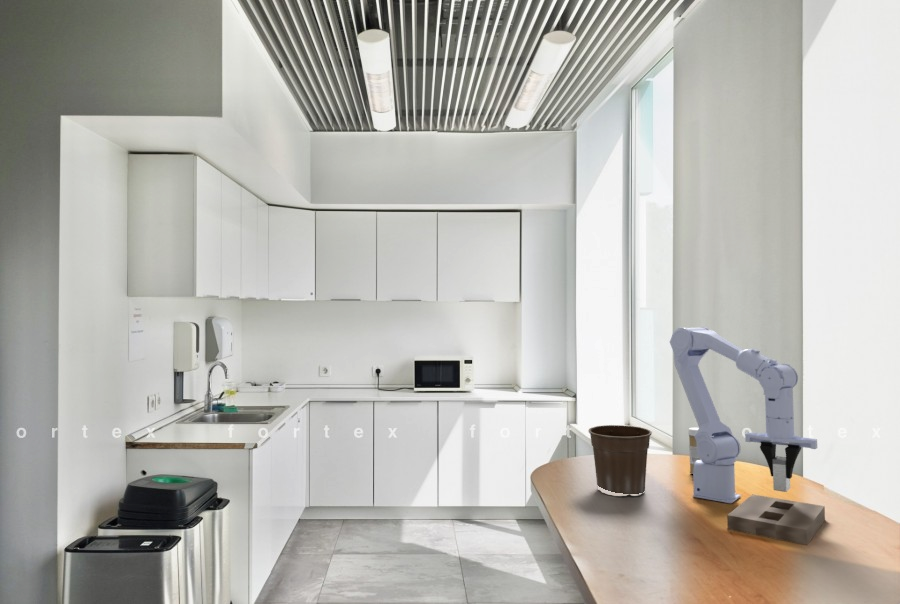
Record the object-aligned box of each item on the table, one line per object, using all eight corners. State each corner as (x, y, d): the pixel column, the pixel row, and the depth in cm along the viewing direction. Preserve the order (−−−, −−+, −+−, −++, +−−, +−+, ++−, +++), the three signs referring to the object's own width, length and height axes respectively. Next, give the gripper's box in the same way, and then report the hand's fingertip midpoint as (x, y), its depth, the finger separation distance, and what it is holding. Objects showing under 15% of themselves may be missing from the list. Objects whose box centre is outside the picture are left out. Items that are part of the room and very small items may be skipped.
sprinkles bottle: (709, 475, 176) (708, 428, 177) (700, 477, 174) (699, 430, 174) (695, 472, 180) (694, 426, 181) (686, 474, 178) (685, 428, 178)
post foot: (727, 529, 131) (727, 515, 131) (752, 506, 146) (752, 494, 146) (806, 545, 121) (806, 530, 121) (825, 519, 137) (824, 506, 137)
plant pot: (643, 504, 150) (642, 438, 150) (580, 494, 158) (579, 432, 159) (659, 488, 163) (658, 428, 164) (600, 480, 172) (599, 423, 172)
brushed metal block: (773, 490, 139) (772, 459, 139) (777, 486, 142) (776, 456, 143) (786, 492, 137) (785, 460, 137) (790, 488, 140) (789, 457, 141)
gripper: (741, 416, 142) (742, 475, 141) (812, 422, 132) (814, 485, 132) (748, 412, 147) (750, 469, 147) (818, 418, 138) (820, 478, 137)
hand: (781, 476), depth 140 cm, fingers closed on brushed metal block, 3 cm apart
